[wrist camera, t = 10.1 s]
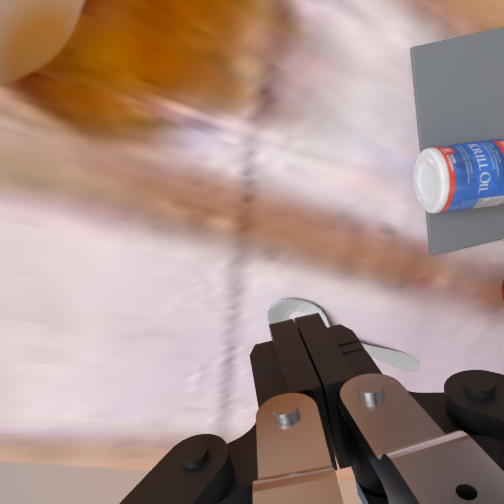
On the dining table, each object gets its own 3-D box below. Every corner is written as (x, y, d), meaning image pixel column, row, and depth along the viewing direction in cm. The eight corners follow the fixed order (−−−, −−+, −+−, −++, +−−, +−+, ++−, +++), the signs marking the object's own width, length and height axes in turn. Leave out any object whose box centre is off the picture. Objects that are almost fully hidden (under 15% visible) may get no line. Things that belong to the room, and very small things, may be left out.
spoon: (274, 284, 42) (276, 291, 40) (453, 358, 46) (461, 367, 44) (255, 322, 43) (257, 330, 41) (432, 391, 47) (440, 401, 45)
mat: (410, 48, 37) (413, 47, 36) (538, 20, 37) (543, 18, 36) (429, 253, 42) (432, 254, 41) (541, 227, 42) (546, 228, 41)
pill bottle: (432, 136, 34) (552, 120, 35) (406, 163, 39) (511, 148, 40) (449, 204, 33) (572, 186, 34) (420, 222, 38) (527, 206, 39)
